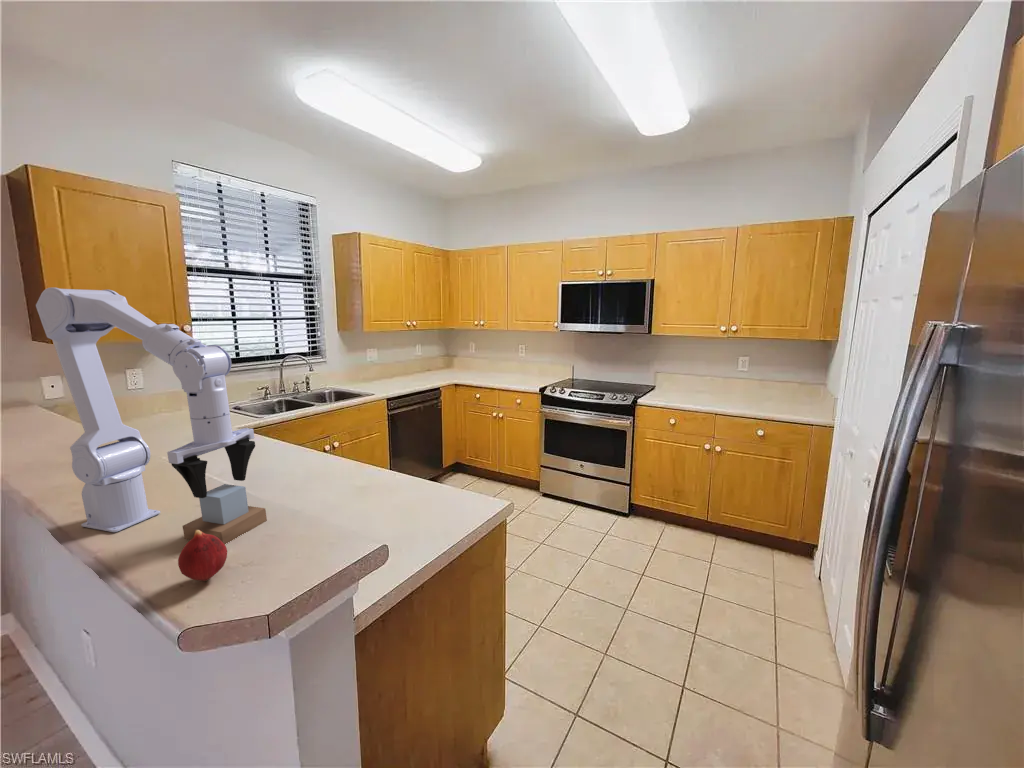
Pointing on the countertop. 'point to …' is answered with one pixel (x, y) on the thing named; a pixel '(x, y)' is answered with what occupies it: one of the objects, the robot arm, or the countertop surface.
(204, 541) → the onion
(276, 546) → the countertop surface
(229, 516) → the cube
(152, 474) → the countertop surface
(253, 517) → the base
